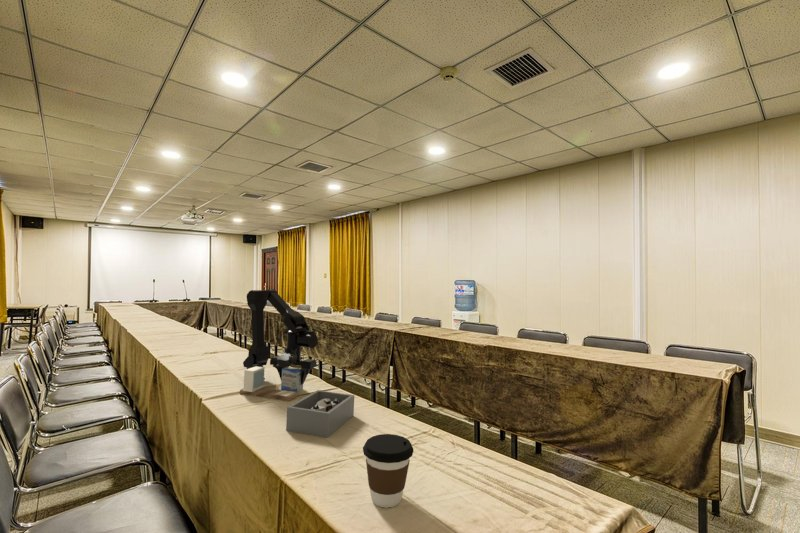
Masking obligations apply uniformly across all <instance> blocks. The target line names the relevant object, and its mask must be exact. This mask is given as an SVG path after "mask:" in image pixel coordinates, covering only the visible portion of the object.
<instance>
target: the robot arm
mask: <svg viewBox="0 0 800 533" xmlns="http://www.w3.org/2000/svg"><path fill="white" fill-rule="evenodd" d="M267 302H269V304H270V305H272V307H273V308H274V309H275V310H276V311H277V312H278V313H279V315H280V316H281V317H282V322H283V324H284V326H285V328H286V329H285V330H284V331H283V334H286V335H287V337H286V338H287V339H286V347H285V348H284V352H283V353H282V354H280V355H276V356H273V357H272V356H271V352H270V346H269V345H267V344H266V343H265V324H264V322H265V321H264V320H265V318H264V310H265V308H266V306H267ZM246 303H247V305H248V308H249V309H250V310H251V339H252V341H251V342H252V343H251V345H250V347H249V349H248V355H247V357H246V358H245V359H244V360H243V361H242V362H243V363H242V364H243V367H244V368H246V369H249V368H252V367H255V366H258V367H264V366H267V364H268V361H269V365H270V366H271V365H272V367H273V368H275V369H276V370H277V372H278V375H279V379H280V381H281V380H282V369H283V368H285V367H291V365H295V366H300V368H301V369H300V370H301V372H302V374H301V385H303V386H304V385H305V384H304V383H305V381H306V379H307V378H308V375H309V373H310V372H311V370H312V369H314V368H316V367H317V361H316V359H312V358H306V359H303V356H302V350H303V348H308V349H314V348H315V347H316V346H317V345H318V343H319V338H318V336H317V334H316V333H315V330H310V328H309V326H308V324H307V322H306V320H305V319H306V318H305V316H304V315H303V314H302V313H300V312H299V311H297V310H294V309H293V308H292V307H291V306H289V304H288V303H287V302H286V301H285V300H284V299H283V298H282V296H280V294H279V292H278V291H277V290H276V289H265V290H263V289H254V290H249V291H248V292H247V294H246ZM270 356H271V358H270ZM264 380H266V378H265V377H264Z"/></svg>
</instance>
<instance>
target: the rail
mask: <svg viewBox="0 0 800 533" xmlns="http://www.w3.org/2000/svg"><path fill="white" fill-rule="evenodd" d="M243 390H244V387H243V388H242V389H239V394H240V395H247V396H252V397H260V398H266V399H272V400H281V401H285V402H286V401H287V402H290V401H292V400H294V399H296V398H297V397H299V393H298V392H299V391H298V392H295V391H287V390H282V389H274V388H269V387H263V388H261V389H258V390H256V391H254V392H248V391H243Z"/></svg>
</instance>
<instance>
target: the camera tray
mask: <svg viewBox="0 0 800 533" xmlns="http://www.w3.org/2000/svg"><path fill="white" fill-rule="evenodd" d="M325 398H326V399H330V400H331V402H332V401H333V400H335V399H337V400H338V399H343V401H342V402H341V403H339V404H338V405H336V406H335V407H334V408H332V409H331V410H329V411H328V412H324V411H318V410H311V408H312V407H314V405H316V404H317V402H318V401H320V400H322V399H325ZM354 412H355V394H349V393H342V392H335V391H334V392H333V391H327V390H321V389H320V390H319V389H317V390H316V391H314V392H312V393H310V394H309V395H306V396H304V397H302V398H301V399H299V400H297V401H296V402H294V403H292V404H291V405H289V406H287V407H286V424H285V430H286V431H287V432H293V433H294V432H295V433H299V434H305V435H311V436H316V437H320V438H321V437H322V438H329V437H331V435H333V434H334V433H335V432H336V431H338V430H339V428H341V427H342V426H343V425H345V424H346V423H347V422H348V421H349V420H350V419H352V418H353V417H354V416H353V415H355V414H354ZM352 416H353V417H352Z"/></svg>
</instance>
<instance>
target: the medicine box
mask: <svg viewBox="0 0 800 533" xmlns="http://www.w3.org/2000/svg"><path fill="white" fill-rule="evenodd" d="M300 369H302V367H300V368H299V367H294V366H293V367H292V366H289V367H285V368H283V369H282V380H281V379H280V383H281V384H280V390H284V391H291V392H301V391H302V390H304V384H303V385H301V374H302V372H301V370H300Z"/></svg>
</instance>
